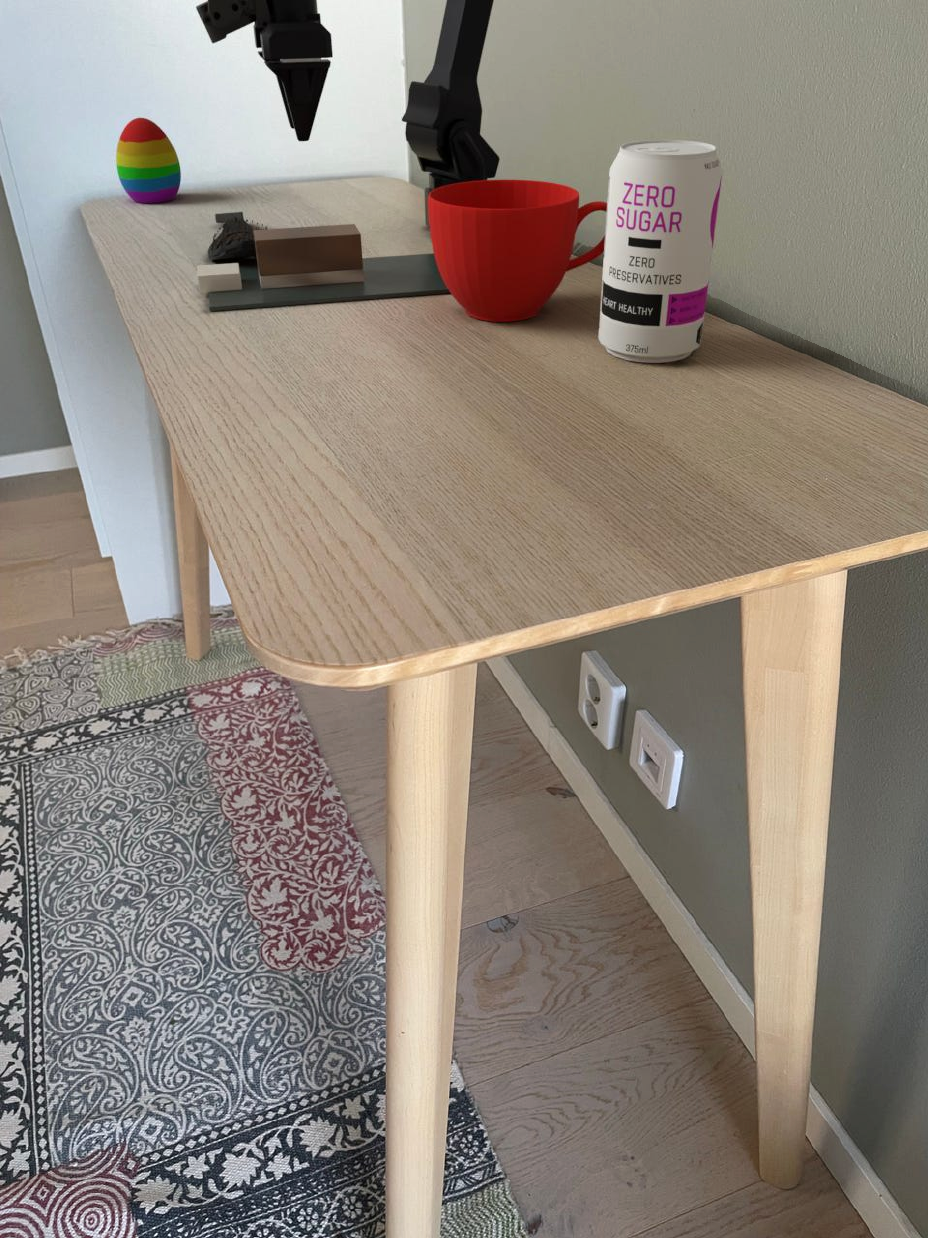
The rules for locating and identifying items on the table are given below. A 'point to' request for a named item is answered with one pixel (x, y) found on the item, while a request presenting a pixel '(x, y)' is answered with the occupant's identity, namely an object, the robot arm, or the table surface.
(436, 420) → the table surface
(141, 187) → the decorative egg
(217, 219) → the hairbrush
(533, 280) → the ceramic cup
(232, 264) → the chalk
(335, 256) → the eraser
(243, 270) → the slate board
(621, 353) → the white soda can
